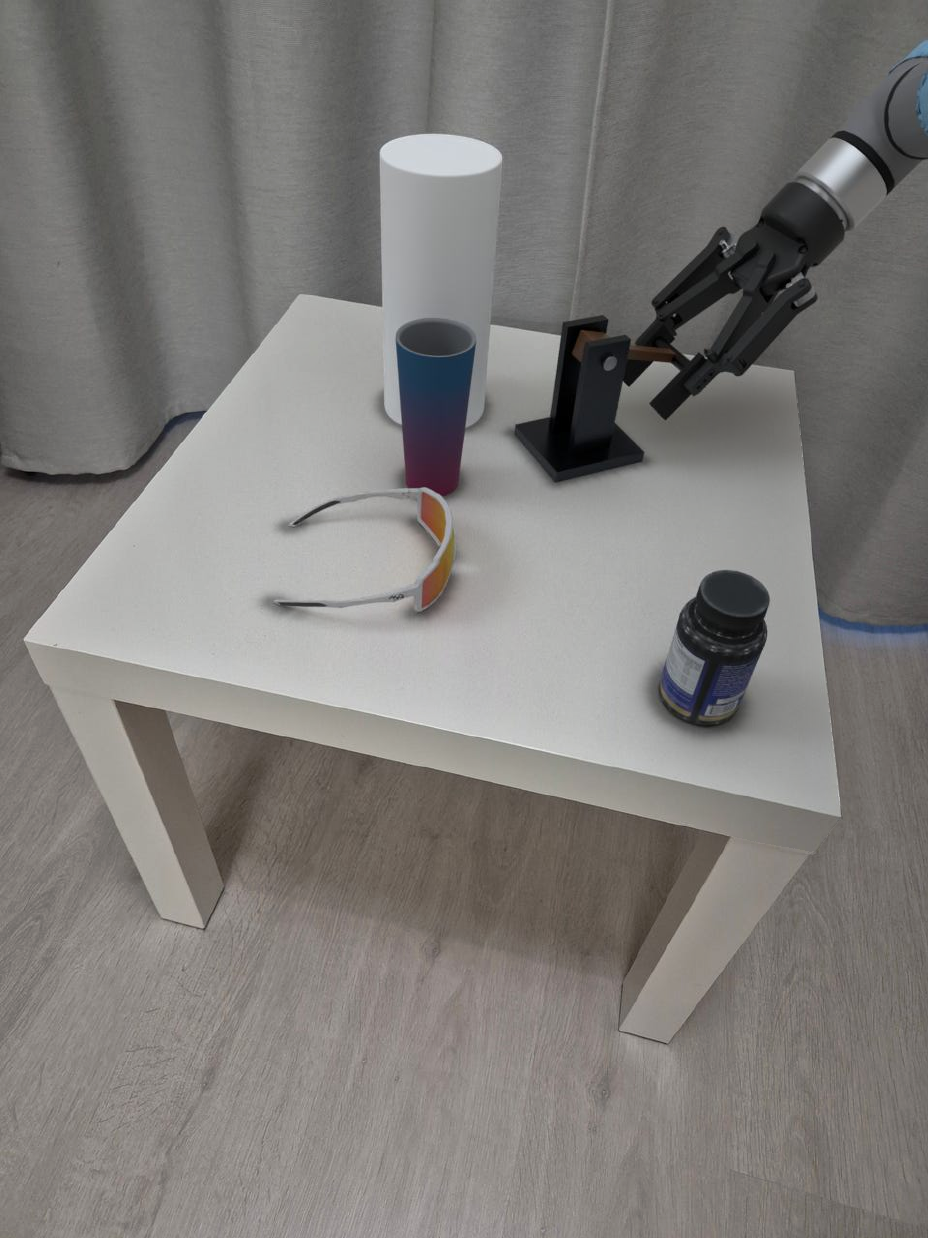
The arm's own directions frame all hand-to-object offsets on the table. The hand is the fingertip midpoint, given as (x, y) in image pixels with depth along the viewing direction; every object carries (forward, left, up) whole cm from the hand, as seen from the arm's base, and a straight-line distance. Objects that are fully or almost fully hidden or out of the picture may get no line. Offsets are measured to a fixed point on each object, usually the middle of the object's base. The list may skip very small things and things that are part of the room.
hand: (638, 394), depth 88 cm
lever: (+1, +2, +4) cm, 4 cm away
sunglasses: (+8, +32, -5) cm, 34 cm away
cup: (+11, +19, -5) cm, 23 cm away
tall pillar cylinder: (+19, +8, -5) cm, 22 cm away
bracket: (+3, +5, -5) cm, 8 cm away
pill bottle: (-21, +28, -5) cm, 36 cm away
